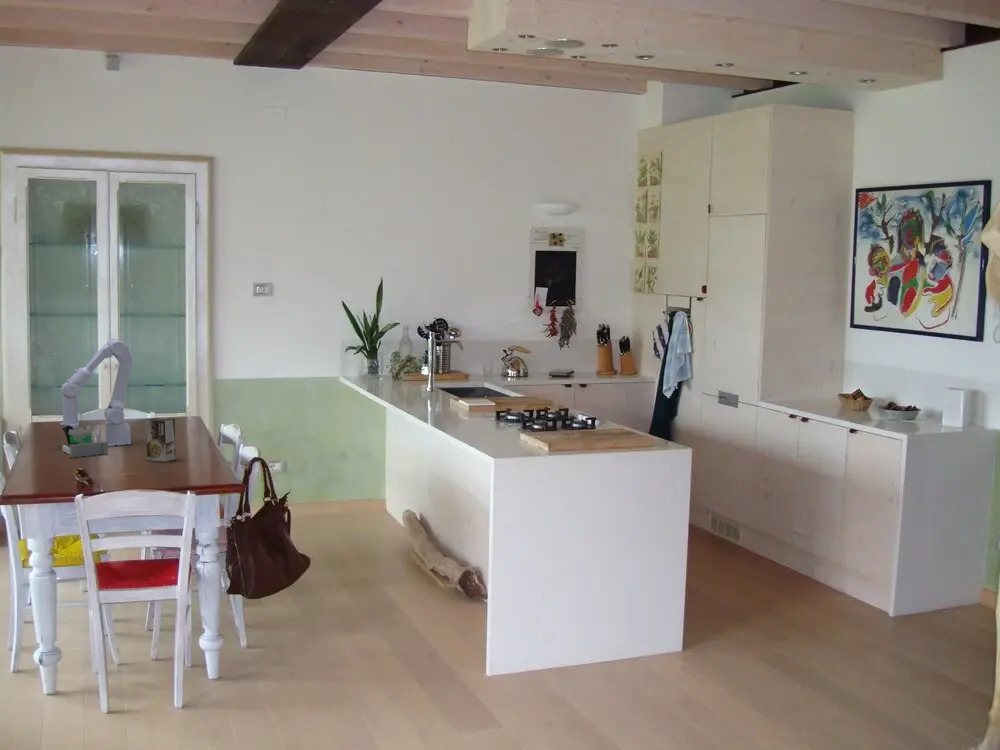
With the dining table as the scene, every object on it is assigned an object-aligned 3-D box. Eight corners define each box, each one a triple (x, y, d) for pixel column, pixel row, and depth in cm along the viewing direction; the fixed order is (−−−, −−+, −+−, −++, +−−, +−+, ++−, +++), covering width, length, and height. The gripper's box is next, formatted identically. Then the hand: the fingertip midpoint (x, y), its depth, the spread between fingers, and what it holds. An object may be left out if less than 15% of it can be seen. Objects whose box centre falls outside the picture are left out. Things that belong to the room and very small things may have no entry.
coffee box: (176, 459, 407) (175, 418, 405) (166, 462, 401) (165, 420, 399) (157, 457, 410) (156, 417, 408) (146, 460, 404) (145, 419, 402)
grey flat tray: (94, 448, 427) (93, 436, 426) (107, 454, 414) (107, 442, 414) (58, 452, 418) (58, 439, 418) (71, 458, 405) (71, 445, 405)
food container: (83, 454, 413) (82, 430, 412) (69, 454, 414) (68, 429, 413) (100, 449, 425) (99, 425, 424) (86, 448, 426) (86, 424, 425)
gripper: (54, 410, 429) (55, 442, 430) (65, 414, 418) (67, 448, 419) (72, 409, 433) (73, 441, 435) (83, 413, 422) (84, 446, 424)
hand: (71, 444), depth 427 cm, fingers closed
